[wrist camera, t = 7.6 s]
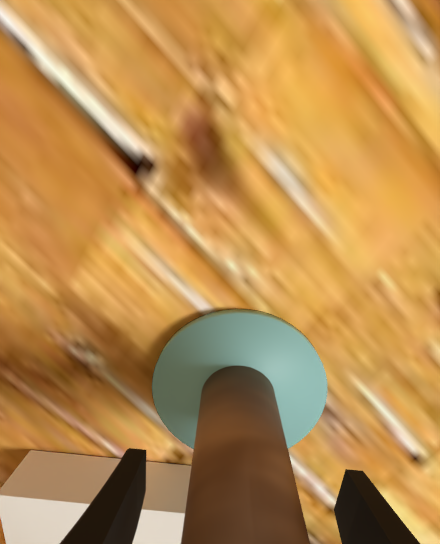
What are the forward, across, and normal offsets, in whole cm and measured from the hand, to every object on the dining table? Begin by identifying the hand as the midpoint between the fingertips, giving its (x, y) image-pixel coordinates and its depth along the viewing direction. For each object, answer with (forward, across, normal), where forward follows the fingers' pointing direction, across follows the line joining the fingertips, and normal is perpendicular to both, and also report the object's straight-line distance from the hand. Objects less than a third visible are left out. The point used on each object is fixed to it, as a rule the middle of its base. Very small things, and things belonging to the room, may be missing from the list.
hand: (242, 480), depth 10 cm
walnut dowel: (+4, 0, 0) cm, 4 cm away
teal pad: (+5, 0, 0) cm, 5 cm away
